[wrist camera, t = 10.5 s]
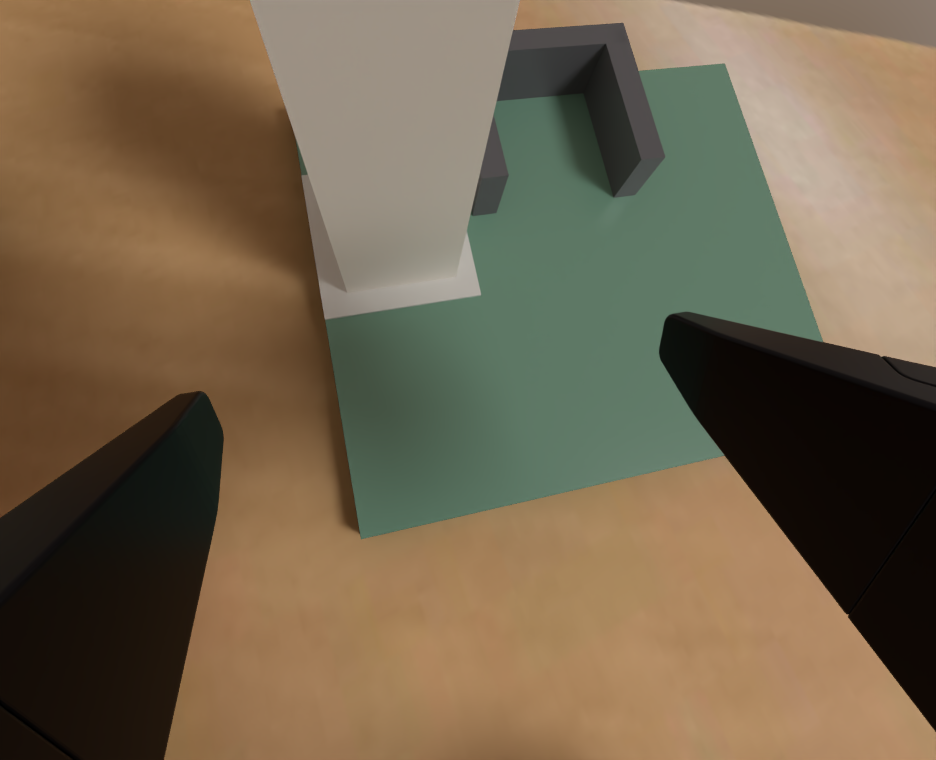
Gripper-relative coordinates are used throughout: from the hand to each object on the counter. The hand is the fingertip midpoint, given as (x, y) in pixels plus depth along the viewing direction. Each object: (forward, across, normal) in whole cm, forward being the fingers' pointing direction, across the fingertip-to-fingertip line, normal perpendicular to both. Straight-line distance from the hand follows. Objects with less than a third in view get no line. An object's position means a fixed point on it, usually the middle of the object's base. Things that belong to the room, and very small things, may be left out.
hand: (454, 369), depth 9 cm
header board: (+10, -7, +3) cm, 13 cm away
